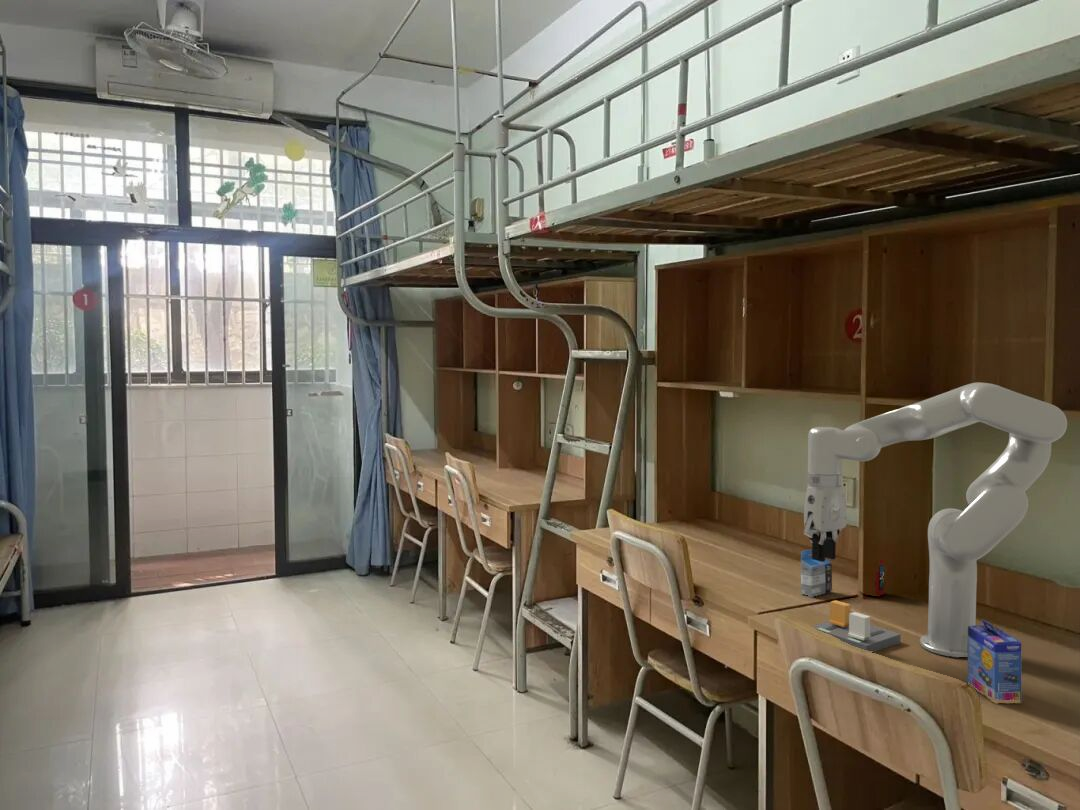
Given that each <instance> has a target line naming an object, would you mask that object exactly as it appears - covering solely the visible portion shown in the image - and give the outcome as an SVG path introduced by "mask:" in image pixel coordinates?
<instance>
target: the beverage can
mask: <svg viewBox="0 0 1080 810" xmlns="http://www.w3.org/2000/svg"><path fill="white" fill-rule="evenodd" d="M882 562H884V559H881V560H880V563H882ZM880 566H881V565H880ZM883 568H884V567H883V566H881V569H880V567H879V570H880V571H879V570H878V572H877V573H876V575H875V576H877V577H876V581H875V582H874V583H875V584H874V585H876V586H875V587H876V595H881V596H882V595H884V594H885V590H884V589H883V588H884V584H883V583H884V578H883V576H884V572H883V570H882V569H883ZM877 574H878V575H877Z"/></svg>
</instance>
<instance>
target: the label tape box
mask: <svg viewBox="0 0 1080 810" xmlns="http://www.w3.org/2000/svg"><path fill="white" fill-rule="evenodd" d="M832 564H833V563H832V562H830V561H829V560H828V558H825V561H824V562H821V561H817V560H813V559H812V548H811V549H806V550H802V551H801V554H800V584H801V588H800V589H801V593H802V594H805V595H808V596H811V597H810V598H815V597H814V596H816V597H818V595H819V596H822V595H821V594H823V595H825V593H826V594H829V592H830V593H832V592H833V569H832V567H833V565H832ZM802 594H801V595H802ZM808 596H807V597H808Z"/></svg>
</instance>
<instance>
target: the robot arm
mask: <svg viewBox="0 0 1080 810" xmlns="http://www.w3.org/2000/svg"><path fill="white" fill-rule="evenodd" d="M976 423H983V424H986V425H988V426H990V427H992V428H995V429H998V430H1001V431H1003V432H1007V433H1009V439H1008V443H1007V445H1006V447H1005V449H1004V450H1003V452H1002V453H1001V454H1000V455H999V456H998V457H997V458H996V459H995V461H994V462H993V463H991V465H990V466H988V468H986V470H984V471H983V472H982V473H981V474H980V475H979V476H978V477H977V478H976V479H974V480H973V482H972V483H971V484H970V485H969V487H968V488H967V490H966V495H965V496H966V497H965V498H966V499H965V500H966V502H967V504H968V506H967V507H966V508H964V509H963V510H961V509H958V508H952V507H949V508H943V509H941V510H939V511H937V512H936V513H934V514H933V516H932V517H931V518H930V520H929V523H928V525H927V526H928V527H927V541H928V542H927V543H928V544H927V545H928V555H929V557H928V558H929V568H928V569H929V577H928V610H927V611H928V614H927V615H928V617H927V618H928V619H927V634H925V635H922V636H921V637H920V639H919V643H920V646H921V647H923V649H925V650H927V651H929V652H931V653H934V654H936V655H940V656H945V657H950V656H951V657H952V658H959V657H968V626H974V625H976V622H977V621H976V619H977V618H976V617H977V616H976V615H977V586H978V585H977V584H978V583H977V582H978V565H977V560H979V559H981V558H983V557H984V556H986V555H987V554H988V553H989V552H991V550H993V549H994V548H995V547H996V546H997V545H998V544H999V543H1000V542H1002V541H1003V540H1004V539H1005V537H1006V536H1008V535H1009V534H1010V533H1011V532H1012V531H1014V529H1015V528H1016V527H1017V526H1018V525H1019V524H1020V523H1021V522H1022V520H1023V519H1024V517H1025V516H1026V514H1027V512H1028V508H1029V498H1028V495H1027V494H1026V492H1027V490H1029V488H1030V487H1031V486H1032V485H1033V484H1034V482H1036V480H1038V479H1039V477H1041V475H1042V474H1043V473H1044V471H1045V470H1046V468H1047V466H1048V465H1049V462H1050V459H1051V455H1052V443H1054V442H1056V441H1057V440H1059V439H1061V438H1062V437H1063V436H1064V435H1065V433H1066V431H1067V430H1068V419H1067V417H1066V414H1065V413H1064V411H1062V409H1061V408H1059V407H1058V406H1056V405H1054V404H1052V403H1049V402H1046V401H1043V400H1040V399H1036V398H1034V397H1032V396H1031V397H1030V396H1028V395H1025V394H1022V393H1020V392H1016V391H1014V390H1011V389H1008V388H1006V387H1002V386H1001V385H998V384H995V383H994V384H993V383H987V382H982V381H981V382H977V381H976V382H972V383H968V384H965V385H962V386H959V387H957V388H953V389H951V390H949V391H946V392H942V393H941V394H938V395H934V396H932V397H929V398H926V399H924V400H921V401H918V402H914V403H913V404H907V405H905V406H903V407H900V408H898V409H893V410H891V411H888V412H885V413H882V414H881V413H880V414H879V415H876V416H873V417H870V418H867V419H864V420H862V421H859V422H856V423H853V424H851V425H848V426H847V427H846V428H845V429H840V428H838V427H833V426H832V427H831V426H818V427H816V426H815V427H812V428H811V429H810V430H809V431H808V435H807V437H808V438H807V440H808V443H807V445H808V446H807V453H808V454H807V455H808V456H807V488H806V492H805V493H806V494H805V499H804V500H805V501H804V508H803V509H804V510H803V511H804V512H803V525H804V530H803V535H804V536H806V537H808V539H810V540H809V541H810V543H811V549H812V552H811V555H812V559H813V560H817V561H821V562H824V561H825V559H830V560H835V559H836V554H837V553H836V551H837V550H836V547H837V543H836V542H838V536H839V534H840V532H841V531H842V530H843V529H844V528H846V526H847V521H848V520H847V519H848V518H847V517H848V516H847V502H846V501H847V500H846V499H847V498H846V492H845V487H844V486H843V460H850V461H857V462H869V461H871V460H873V459H876V457H877V456H878V455H879V454H880V452H881V449H882V448H885V447H887V446H891V445H895V444H898V443H902V442H908V441H911V442H912V441H923V440H924V441H925V440H929V439H930V440H931V439H933V438H934V439H935V438H937V437H940V436H942V435H945V434H947V433H950V432H952V431H955V430H958V429H961V428H965V427H967V426H971V425H974V424H976Z"/></svg>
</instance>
